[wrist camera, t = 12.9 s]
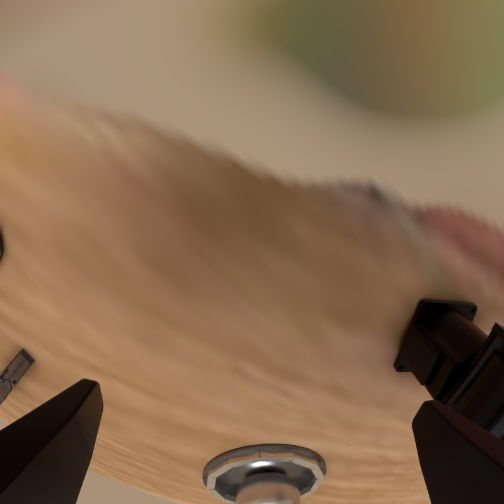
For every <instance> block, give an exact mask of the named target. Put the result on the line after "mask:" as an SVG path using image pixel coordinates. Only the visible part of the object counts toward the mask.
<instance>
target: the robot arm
mask: <svg viewBox="0 0 504 504" xmlns="http://www.w3.org/2000/svg"><path fill="white" fill-rule="evenodd" d="M425 305H426V306H425ZM424 306H425V307H424ZM423 307H424V308H423ZM476 311H477V306H476V305H475V304H474V303H464V302H451V301H438V300H426V299H425V300H422V301H421V302H420V303H419V305H418V307H417V310H416V313H415V316H414V318H413V321H412V323H411V326H410V329H409V331H408V334H407V336H406V339H405V341H404V343H403V346H402V348H401V351H400V353H399V355H398V358H397V360H396V362H395V364H394V368H395V370H396V371H397V372H412V373H413V374H414V376H415V377H416V379H417V380H418V382H419V383H420V385H422V386H423V385H424V386H425V388H426V389H427V391H428V392H429V394H430V395H431V397H432V398H433V400H429V401H425V402H424V403H423V404H422V405H421V407H420V409H419V410H418V412H417V414H416V415H415V417H414V419H413V421H412V429H413V433H414V438H415V442H416V447H417V452H418V457H419V462H420V466H421V470H422V473H423V477H424V480H425V483H426V487H427V490H428V493H429V497H430V500H431V504H504V327H502V326H501V325H499V324H498V323H495V324H494V326H493V328H492V331H491V333H490V334H489V336H487V335H486V334H485V333H484V332H483V331H482V330H480V329H479V328H478V327H477V326H476V325H475V324H474V323H473V322H472V321H473V319H474V316H475V314H476ZM399 366H400V367H399ZM102 413H103V399H102V394H101V389H100V385H99V383H98V382H97V381H94V380H90V379H82V380H80V381H78V382H77V383H75V384H74V385H72V386H71V387H69V388H67V389H66V390H64V391H63V392H61V393H59V394H58V395H56V396H55V397H53V398H52V399H50V400H48V401H47V402H45V403H44V404H42V405H40V406H39V407H37V408H36V409H34V410H32V411H31V412H29V413H28V414H26V415H24V416H23V417H21V418H20V419H18V420H16V421H15V422H13V423H12V424H10V425H8V426H7V427H5V428H3V429H2V430H0V504H76V501H77V498H78V495H79V492H80V489H81V487H82V483H83V481H84V478H85V475H86V472H87V470H88V467H89V464H90V461H91V458H92V454H93V450H94V446H95V441H96V437H97V433H98V429H99V425H100V421H101V417H102Z"/></svg>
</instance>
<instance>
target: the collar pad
mask: <svg viewBox="0 0 504 504" xmlns="http://www.w3.org/2000/svg"><path fill="white" fill-rule="evenodd" d="M266 472H274V473H281V474H284V475H287V476H289V477H290V478H291V479H292V480H293V481H294V482H295V483H296V485H297V487H298V490H299V492H300V500H301V499H303V498H305V497H307V496H308V495H310V494H312V493H314V492H315V491H316V490H317V489H318V487H319V486H320V484H321V483H322V481H323V480H324V478H325V474H326V466H325V463H324V460H323V459H322V458H321V457H320V456H319V455H318V454H317V453H315V452H313V451H311V450H309V449H306V448H303V447H299V446H294V445H286V444H262V445H253V446H247V447H241V448H237V449H234V450H231V451H228V452H225V453H223V454H221V455H218V456H217V457H215V458H213V459H212V460H211V461H210V462H209V463H208V464H207V465H206V466H205V468H204V471H203V482H204V484H205V486H206V487H207V490H208V491H209V492H210V493H211V494H212V495H213V496H215V497H216V498H217V499H218V500H219V501H222V502H225V503H229V504H236V495H237V490H238V487H239V485H240V484H241V483H242V482H243V480H245V479H246V478H247V477H249V476H252V475H254V474H258V473H266Z"/></svg>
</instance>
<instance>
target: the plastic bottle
mask: <svg viewBox="0 0 504 504" xmlns="http://www.w3.org/2000/svg"><path fill="white" fill-rule="evenodd" d="M236 504H300V492H299V490H298V487H297V485H296V483H295V482H294V481H293V480H292V479H291V478H290V477H289V476H287V475H284V474H281V473H274V472H266V473H258V474H254V475H252V476H249V477H247V478H246V479H245V480H243V482H242V483H241V484H240V485H239V487H238V490H237V495H236Z"/></svg>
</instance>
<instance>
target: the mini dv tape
mask: <svg viewBox="0 0 504 504" xmlns="http://www.w3.org/2000/svg"><path fill="white" fill-rule="evenodd" d="M34 361H35V360H34V359H33V358H32V357H31V356H30V355H29V354H28V353H27V352H26V351H25V350H24V349H22V350H21V351H20V352H19V354H18V355H17V356H16V357H15V358H14V359H13V361H12V362H11V363H10V364H9V365H8V367H7V368H6V369H5V370H4V371H3V373H2V374H1V375H0V405H1V404H2V403H3V402H4V400H5V399H6V397H7V396H8V395H9V393H10V392H11V391H12V389H13V388H14V387H15V385H16V384H17V383H18V381H19V380H20V379H21V377H22V376H23V375H24V373H25V372H26V371H27V370H28V368H29V367H30V366H31V364H32V363H33V362H34Z"/></svg>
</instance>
